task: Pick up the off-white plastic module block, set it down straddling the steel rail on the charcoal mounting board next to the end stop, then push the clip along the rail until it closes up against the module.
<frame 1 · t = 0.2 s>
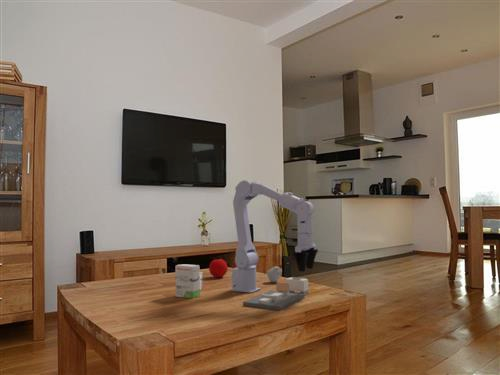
hand: (305, 269, 138), 10 cm above the table, tool pointing down, fingers open, 7 cm apart
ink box: (187, 296, 140), on the table
module: (297, 293, 142), on the table
rail board: (274, 301, 130), on the table
rail clip: (282, 286, 136), point 4 cm above the table, slide at 0.0 cm
ornament: (218, 277, 179), on the table
grey sculpted head: (274, 282, 165), on the table
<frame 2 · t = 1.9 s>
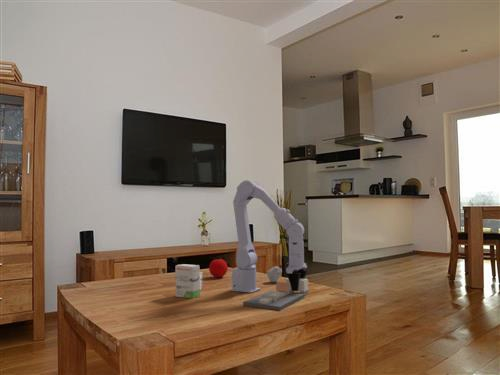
hand: (297, 289, 142), 1 cm above the table, tool pointing down, fingers closed on module, 4 cm apart
module: (297, 293, 142), on the table, touching gripper
everything else where it was.
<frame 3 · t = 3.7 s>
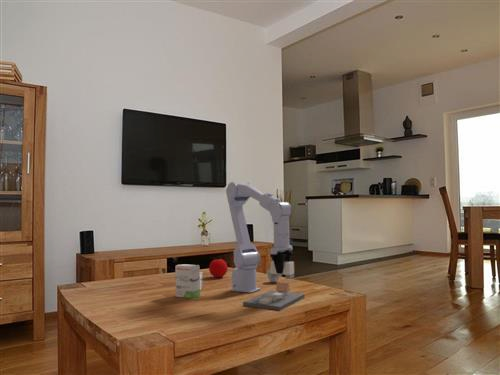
hand: (282, 272, 134), 9 cm above the table, tool pointing down, fingers closed on module, 4 cm apart
module: (282, 277, 134), point 8 cm above the table, touching gripper
everything else where it was.
when the fingers open (4 cm above the table, at t = 5.5 s): module drops 1 cm, resting on rail board.
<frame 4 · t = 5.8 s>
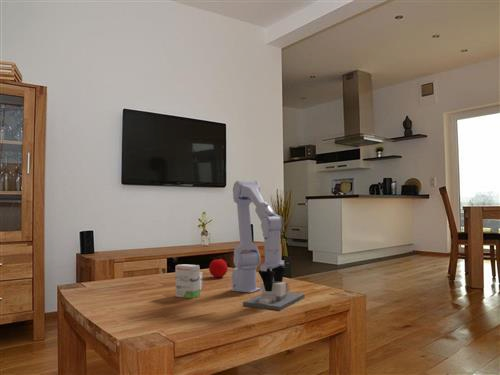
hand: (273, 289, 129), 4 cm above the table, tool pointing down, fingers open, 7 cm apart
module: (273, 298, 129), point 1 cm above the table, touching rail board
everything else where it was.
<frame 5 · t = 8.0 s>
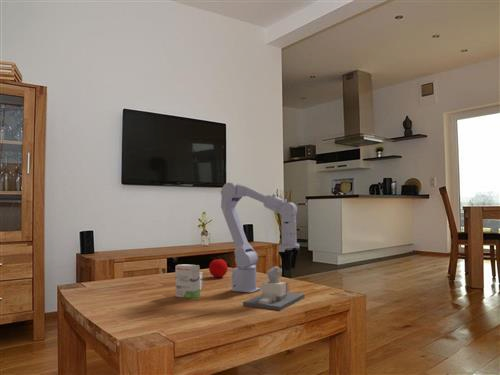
hand: (289, 269, 142), 9 cm above the table, tool pointing down, fingers open, 4 cm apart
nothing on the table moved.
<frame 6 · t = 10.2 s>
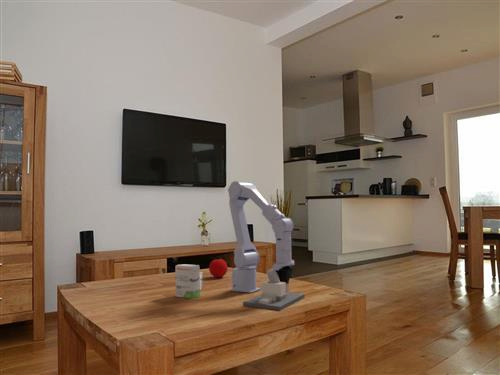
hand: (284, 287, 137), 3 cm above the table, tool pointing down, fingers closed
rail clip: (282, 287, 135), point 4 cm above the table, slide at 0.6 cm, touching gripper
everything else where it was.
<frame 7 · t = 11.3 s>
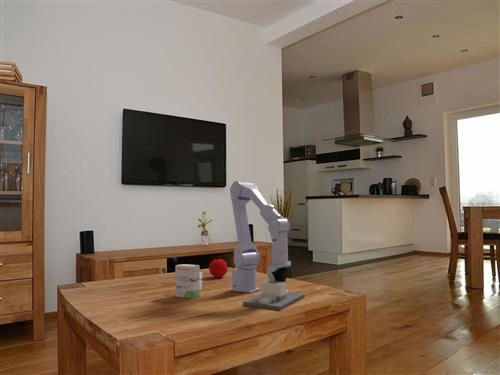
hand: (280, 288, 134), 3 cm above the table, tool pointing down, fingers closed
rail clip: (278, 288, 132), point 4 cm above the table, slide at 3.8 cm, touching gripper
everything else where it was.
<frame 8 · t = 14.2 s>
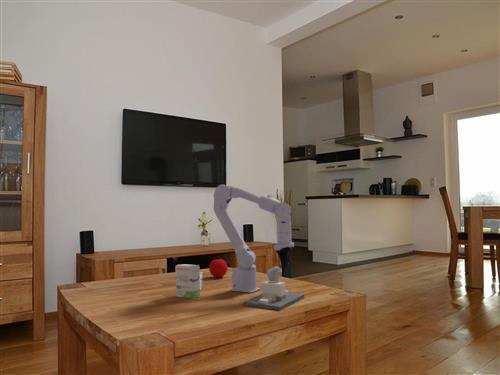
hand: (284, 266, 147), 9 cm above the table, tool pointing down, fingers closed
rail clip: (278, 288, 132), point 4 cm above the table, slide at 3.8 cm
everything else where it was.
at the end: module 0.3 cm from the target spot on the rail board, point 1.2 cm above the rail board's base; rail clip slide at 3.8 cm; module tilted 0° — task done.
